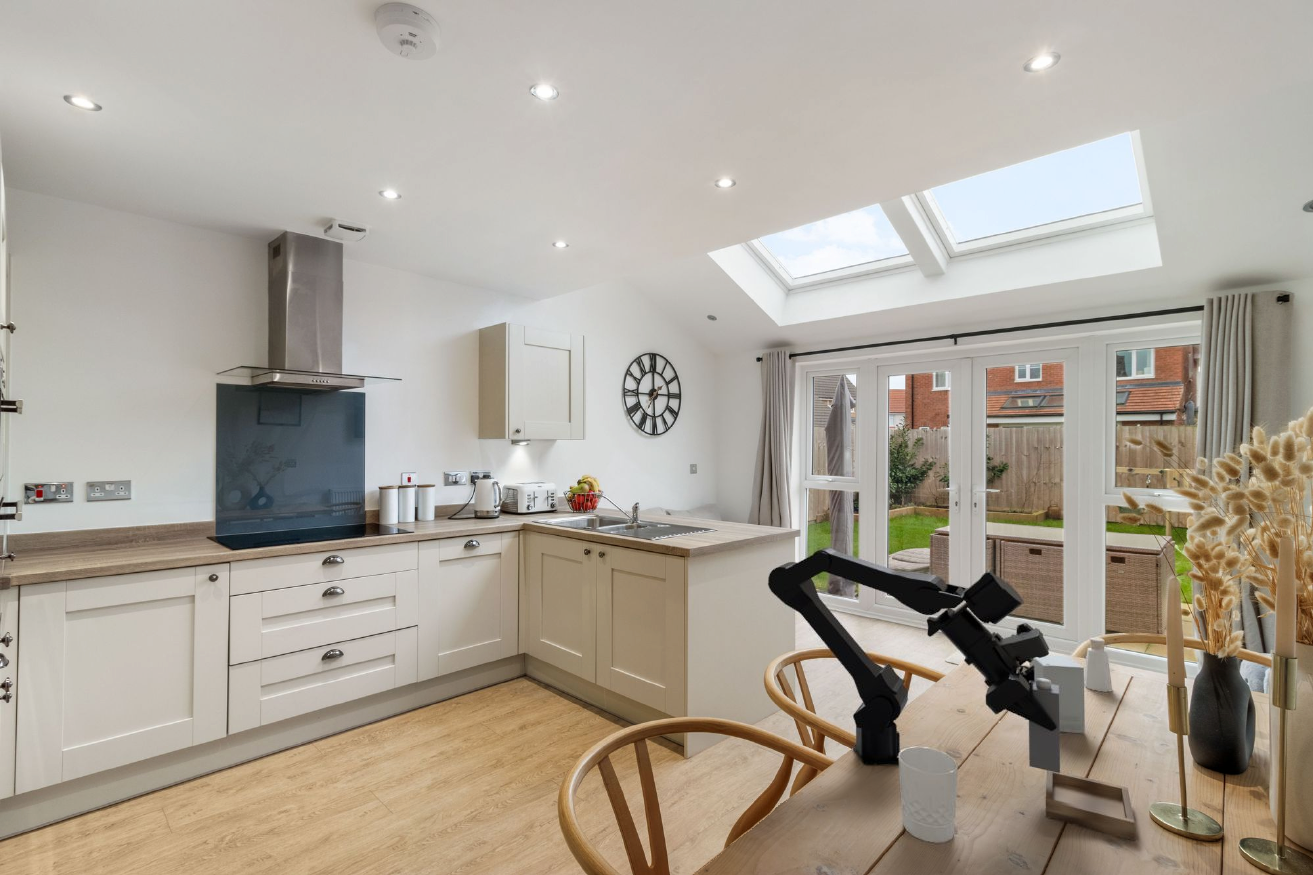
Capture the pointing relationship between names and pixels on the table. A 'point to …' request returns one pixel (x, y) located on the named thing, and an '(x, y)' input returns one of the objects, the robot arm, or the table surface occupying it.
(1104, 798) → the wooden tray
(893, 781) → the table surface
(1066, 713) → the supplement box
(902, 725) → the table surface
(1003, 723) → the table surface
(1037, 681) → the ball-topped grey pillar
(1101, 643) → the pepper shaker
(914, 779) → the white cup
